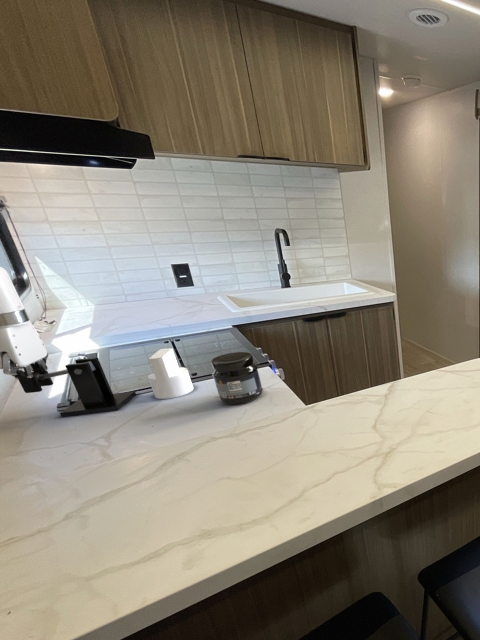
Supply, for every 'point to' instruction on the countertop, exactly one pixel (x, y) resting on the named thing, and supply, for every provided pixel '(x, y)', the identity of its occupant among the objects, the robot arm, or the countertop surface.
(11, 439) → the countertop surface
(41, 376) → the tap lever
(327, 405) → the countertop surface
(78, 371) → the bracket
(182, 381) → the base with upright slab
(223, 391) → the supplement container
